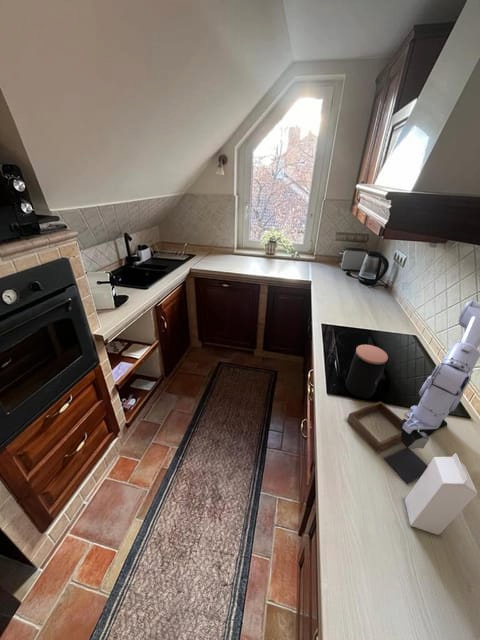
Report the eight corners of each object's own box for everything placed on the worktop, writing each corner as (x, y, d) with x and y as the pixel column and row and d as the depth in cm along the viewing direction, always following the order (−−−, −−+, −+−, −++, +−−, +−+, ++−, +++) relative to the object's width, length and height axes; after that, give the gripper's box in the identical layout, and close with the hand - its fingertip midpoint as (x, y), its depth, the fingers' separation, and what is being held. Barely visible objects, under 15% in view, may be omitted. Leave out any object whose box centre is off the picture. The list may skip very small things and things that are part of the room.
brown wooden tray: (377, 407, 93) (380, 401, 91) (409, 436, 83) (413, 429, 81) (346, 420, 88) (349, 413, 86) (376, 452, 78) (380, 445, 76)
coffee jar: (375, 402, 95) (390, 365, 86) (345, 395, 98) (356, 358, 89) (372, 383, 104) (385, 347, 95) (344, 377, 106) (355, 342, 97)
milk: (410, 526, 61) (449, 474, 50) (404, 499, 66) (439, 447, 55) (439, 535, 60) (486, 485, 49) (431, 508, 65) (472, 456, 54)
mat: (407, 447, 79) (407, 446, 79) (431, 470, 73) (431, 469, 73) (384, 459, 76) (384, 458, 76) (407, 484, 70) (407, 483, 69)
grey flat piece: (420, 442, 74) (431, 424, 70) (424, 448, 72) (435, 430, 68) (396, 443, 73) (406, 424, 69) (399, 448, 72) (410, 430, 68)
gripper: (436, 387, 70) (418, 420, 77) (399, 402, 65) (383, 435, 72) (464, 406, 65) (441, 439, 71) (426, 423, 60) (406, 458, 66)
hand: (414, 439), depth 71 cm, fingers closed on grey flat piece, 7 cm apart
